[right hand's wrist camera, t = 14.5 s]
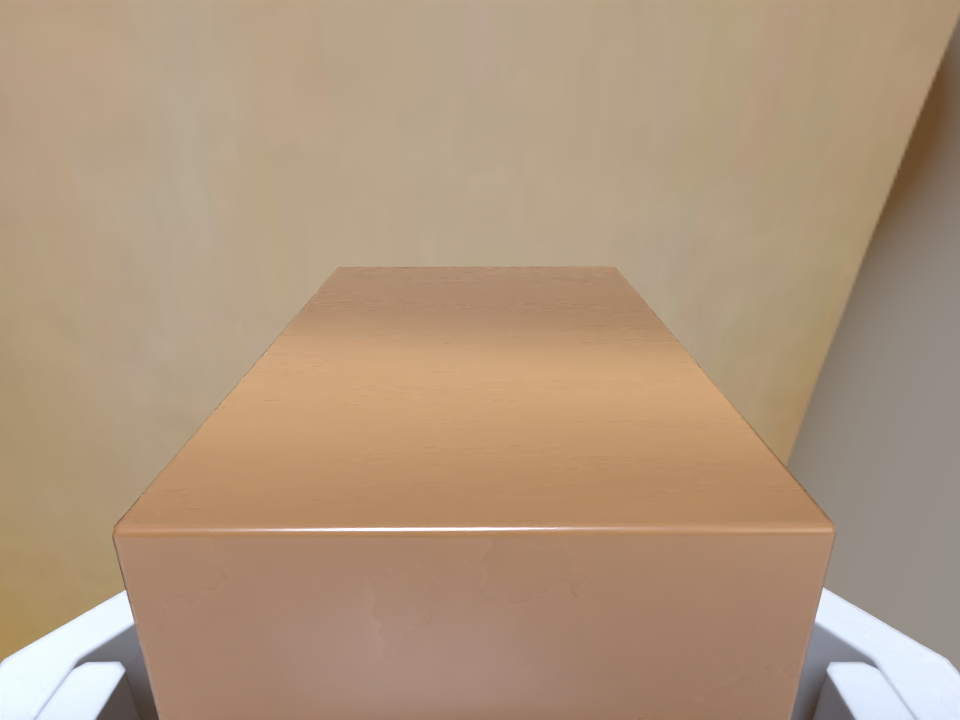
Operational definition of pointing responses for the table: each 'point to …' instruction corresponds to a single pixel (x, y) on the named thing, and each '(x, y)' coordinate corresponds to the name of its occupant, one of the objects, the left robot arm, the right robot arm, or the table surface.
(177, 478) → the bar
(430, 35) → the table surface
